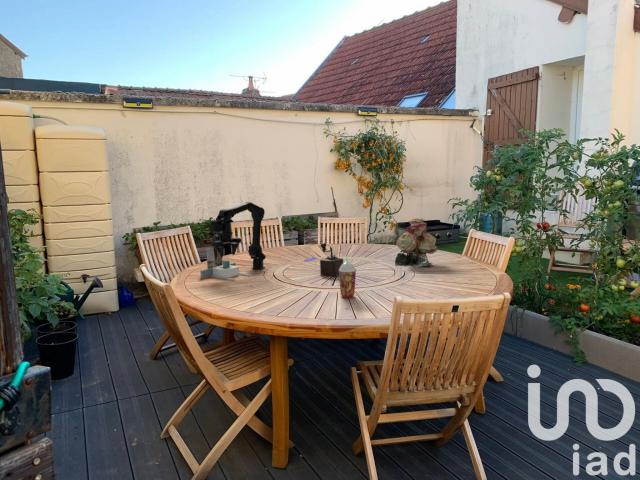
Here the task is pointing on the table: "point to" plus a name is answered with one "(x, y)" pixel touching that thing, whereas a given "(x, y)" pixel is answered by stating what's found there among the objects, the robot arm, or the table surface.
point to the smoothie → (347, 279)
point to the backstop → (209, 273)
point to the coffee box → (213, 257)
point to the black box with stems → (330, 264)
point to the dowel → (226, 264)
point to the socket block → (226, 271)
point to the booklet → (311, 259)
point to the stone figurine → (415, 245)
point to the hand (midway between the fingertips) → (227, 256)
